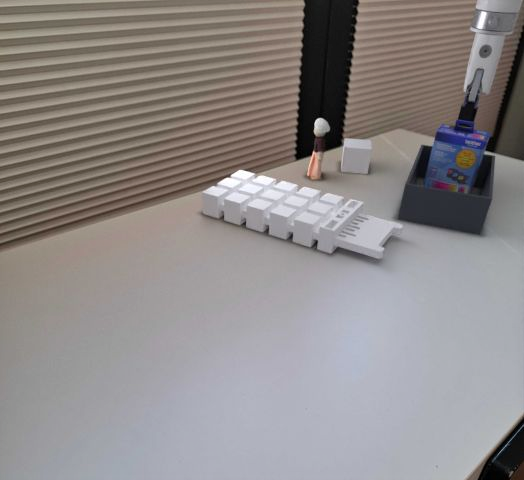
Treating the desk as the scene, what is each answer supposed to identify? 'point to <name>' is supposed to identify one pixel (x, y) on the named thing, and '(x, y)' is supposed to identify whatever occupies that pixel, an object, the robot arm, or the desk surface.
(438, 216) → the bin
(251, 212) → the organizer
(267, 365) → the desk surface
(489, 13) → the robot arm
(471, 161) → the ink cartridge box
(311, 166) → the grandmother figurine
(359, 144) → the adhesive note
